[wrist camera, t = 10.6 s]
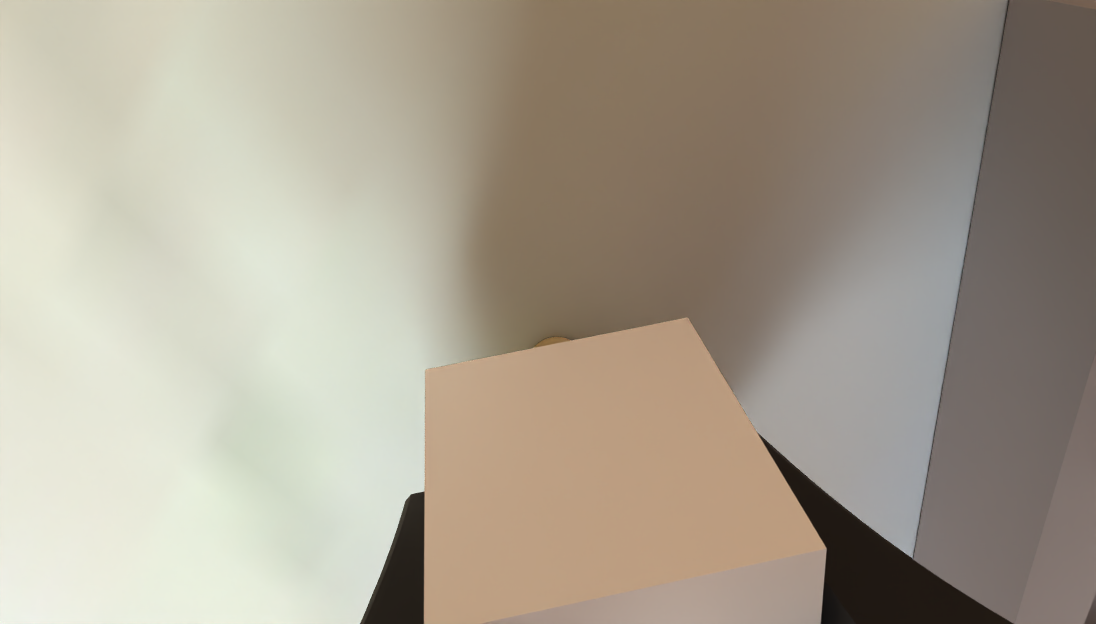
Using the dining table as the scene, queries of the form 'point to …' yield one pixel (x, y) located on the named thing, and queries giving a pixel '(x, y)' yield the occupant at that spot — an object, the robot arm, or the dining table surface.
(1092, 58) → the grey recessed box
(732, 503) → the beige rectangular block
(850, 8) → the dining table surface
